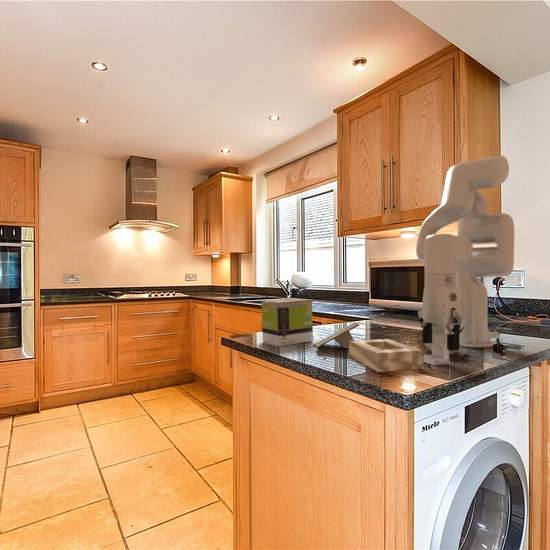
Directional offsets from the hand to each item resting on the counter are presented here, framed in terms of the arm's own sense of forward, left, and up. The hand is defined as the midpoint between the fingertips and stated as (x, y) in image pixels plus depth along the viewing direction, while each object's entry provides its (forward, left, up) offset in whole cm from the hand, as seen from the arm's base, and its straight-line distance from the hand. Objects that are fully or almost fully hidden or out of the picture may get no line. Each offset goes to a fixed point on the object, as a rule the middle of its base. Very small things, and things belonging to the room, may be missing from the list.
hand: (440, 346), depth 95 cm
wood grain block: (+1, 0, -4) cm, 4 cm away
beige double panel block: (+19, -24, -5) cm, 31 cm away
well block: (+14, -4, -4) cm, 15 cm away
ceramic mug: (-9, -9, -5) cm, 13 cm away
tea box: (+31, -38, -5) cm, 49 cm away
